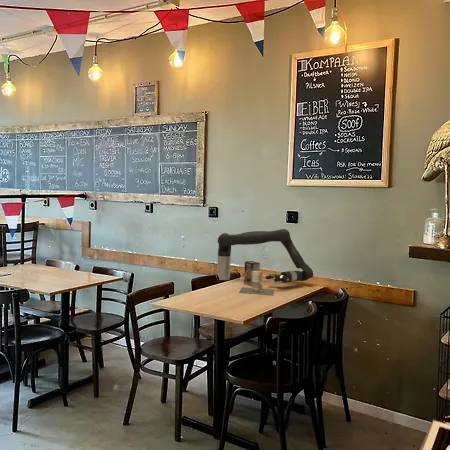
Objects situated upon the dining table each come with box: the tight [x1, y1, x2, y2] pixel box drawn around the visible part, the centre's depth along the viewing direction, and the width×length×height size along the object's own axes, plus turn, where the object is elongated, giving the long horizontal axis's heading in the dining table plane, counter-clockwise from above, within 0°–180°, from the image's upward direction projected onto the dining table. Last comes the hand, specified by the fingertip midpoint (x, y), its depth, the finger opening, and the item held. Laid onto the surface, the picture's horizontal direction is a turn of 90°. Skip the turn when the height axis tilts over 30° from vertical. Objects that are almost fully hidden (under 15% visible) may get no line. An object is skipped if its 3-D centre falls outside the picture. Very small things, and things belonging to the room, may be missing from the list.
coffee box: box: [243, 260, 261, 287], centre depth 325 cm, size 9×6×16 cm
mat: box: [238, 286, 276, 296], centre depth 306 cm, size 22×17×1 cm
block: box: [251, 270, 264, 292], centre depth 305 cm, size 5×5×13 cm
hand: (270, 278), depth 311 cm, fingers open, 8 cm apart
